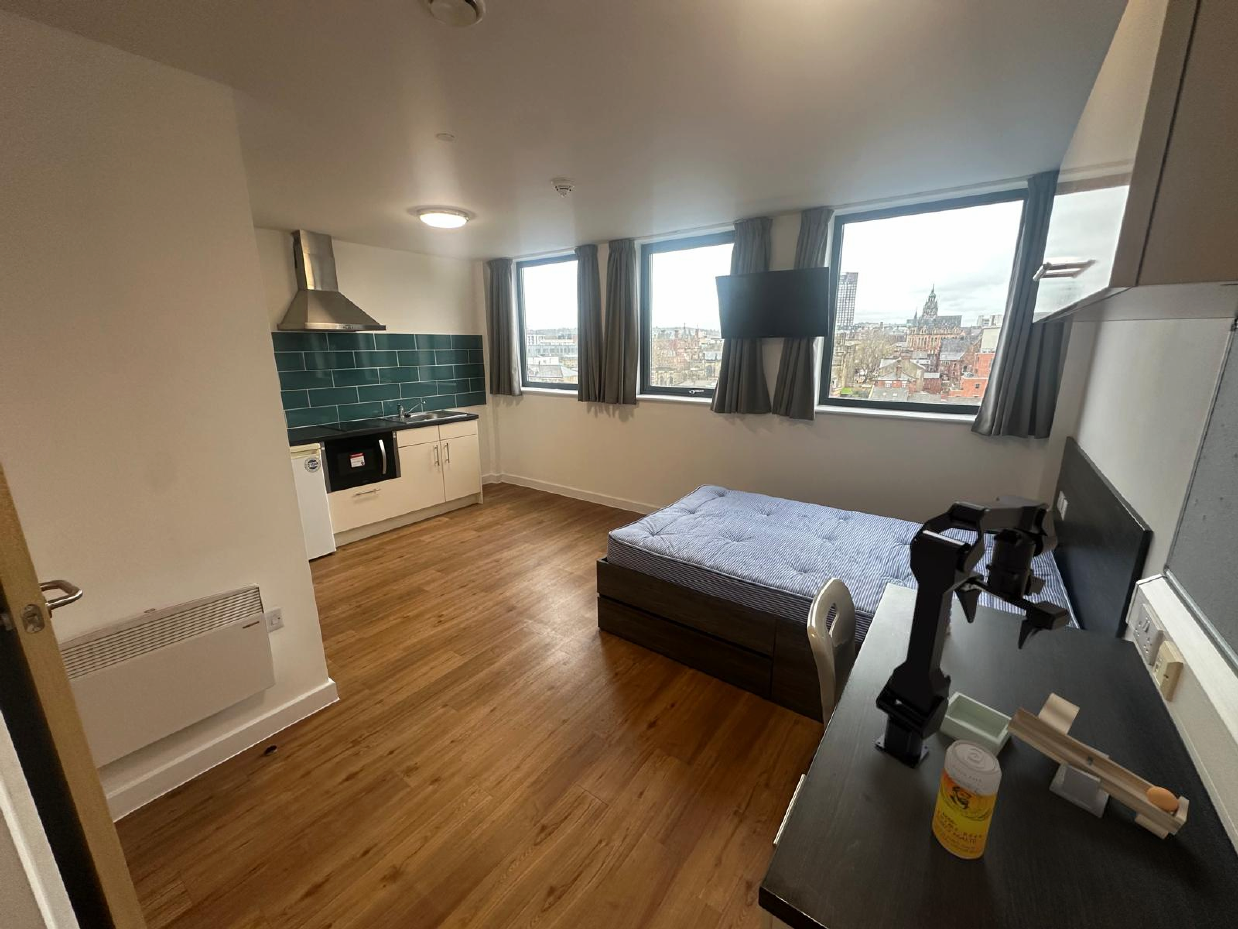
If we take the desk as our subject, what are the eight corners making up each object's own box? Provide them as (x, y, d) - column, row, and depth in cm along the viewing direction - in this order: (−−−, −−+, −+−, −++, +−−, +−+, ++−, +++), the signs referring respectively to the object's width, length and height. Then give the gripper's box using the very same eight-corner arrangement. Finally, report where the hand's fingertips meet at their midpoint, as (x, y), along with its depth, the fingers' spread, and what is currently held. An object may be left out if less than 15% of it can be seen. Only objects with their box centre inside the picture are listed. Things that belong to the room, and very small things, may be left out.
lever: (1168, 844, 68) (1185, 822, 66) (1001, 737, 82) (1011, 717, 80) (1180, 779, 77) (1195, 759, 76) (1029, 694, 92) (1039, 675, 90)
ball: (1164, 820, 68) (1183, 811, 67) (1139, 799, 70) (1157, 790, 69) (1167, 808, 70) (1185, 799, 69) (1142, 788, 72) (1159, 779, 70)
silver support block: (1100, 818, 72) (1110, 788, 71) (1049, 789, 77) (1056, 761, 75) (1111, 788, 77) (1119, 760, 75) (1061, 763, 81) (1069, 736, 80)
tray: (993, 761, 82) (997, 744, 81) (935, 728, 89) (938, 712, 88) (1010, 735, 87) (1014, 719, 86) (953, 706, 94) (956, 691, 93)
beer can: (926, 840, 69) (943, 755, 65) (937, 812, 73) (953, 731, 69) (977, 873, 65) (998, 784, 61) (986, 841, 69) (1006, 755, 65)
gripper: (1098, 576, 84) (1077, 653, 88) (986, 537, 101) (972, 603, 105) (1060, 587, 80) (1040, 668, 84) (950, 545, 97) (937, 614, 101)
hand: (994, 635), depth 94 cm, fingers open, 9 cm apart
